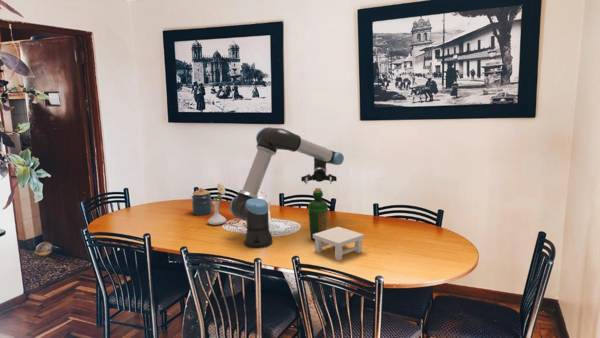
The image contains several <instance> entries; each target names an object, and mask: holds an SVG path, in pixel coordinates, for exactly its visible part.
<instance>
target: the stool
mask: <svg viewBox="0 0 600 338" xmlns="http://www.w3.org/2000/svg"><path fill="white" fill-rule="evenodd" d="M313 238H314V239H315V241H314V245H315V246H314V252H315V253H318V254H319V253H322V252H323V248H324V247H328V246H330V245H331V246H334V260H336V261H342V260H343V255H345V254H348V253H350V252H355V253H357V254H360V253H363V239H365V234H363V233H360V232H357V231H354V230H350V229H347V228H344V227H340V226H336V227H332V228H329V229H327V230H325V231H322V232H319V233H315V234H313ZM351 243H352V244H353V243H354V246H353V247H350V248H348V249H345V250H343V247H344V246H346V245H349V244H351Z"/></svg>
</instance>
